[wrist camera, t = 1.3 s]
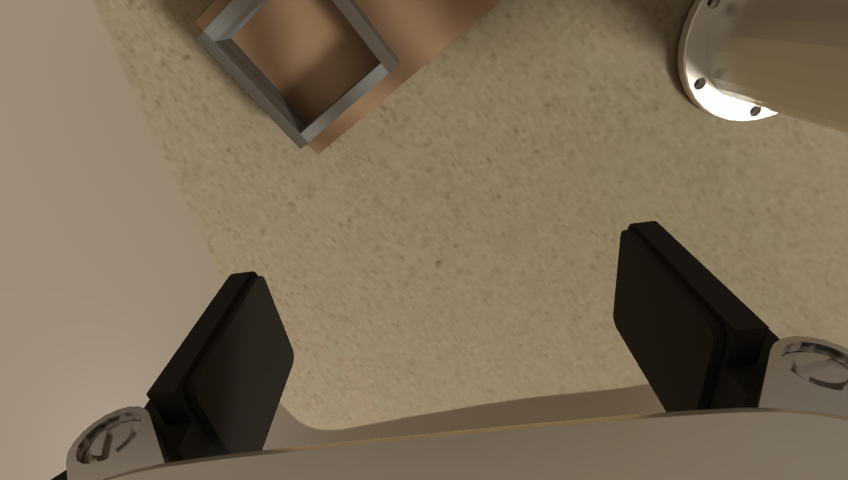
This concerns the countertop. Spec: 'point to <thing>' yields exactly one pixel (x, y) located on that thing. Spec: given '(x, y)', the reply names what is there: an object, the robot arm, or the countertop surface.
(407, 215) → the countertop surface
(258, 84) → the shaker caddy
